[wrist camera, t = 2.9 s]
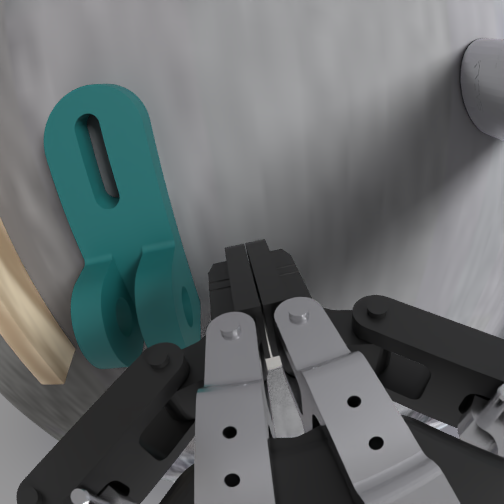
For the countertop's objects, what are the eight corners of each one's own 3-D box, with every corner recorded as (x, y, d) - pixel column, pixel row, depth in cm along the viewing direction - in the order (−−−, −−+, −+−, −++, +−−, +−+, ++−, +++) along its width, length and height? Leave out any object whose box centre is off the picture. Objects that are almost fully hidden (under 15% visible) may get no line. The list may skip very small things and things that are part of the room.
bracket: (200, 301, 25) (201, 379, 18) (126, 314, 25) (108, 388, 18) (140, 70, 16) (97, 63, 9) (49, 104, 15) (-22, 124, 9)
